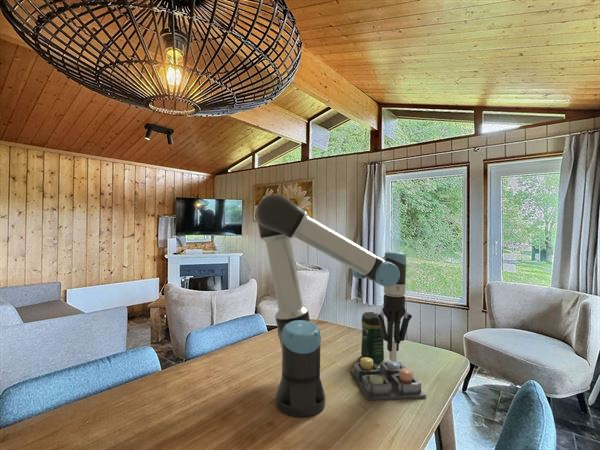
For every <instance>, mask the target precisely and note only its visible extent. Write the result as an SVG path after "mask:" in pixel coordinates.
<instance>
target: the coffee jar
mask: <svg viewBox="0 0 600 450" xmlns="http://www.w3.org/2000/svg"><path fill="white" fill-rule="evenodd" d="M384 318H385V317H384ZM384 318H383V319H384ZM384 320H385V319H384ZM361 326H362V327H361V328H362V329H361V333H362V334H361V348H360V349H361V358H363V357H368V358H371V359H373V363H375V364H378V363H379V364H380V362H384V361H385V353H384V352H385V351H384V350H385V349H384V348H385V347H384V344H385V343H384V341H385V340H384V339H383V338H382V334H381V329H380V324H379V319H378V318H377V316H376V313H375V312H373V311H369V312H367V311H366V312H364V313H362V315H361Z"/></svg>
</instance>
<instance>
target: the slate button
mask: <svg viewBox="0 0 600 450" xmlns="http://www.w3.org/2000/svg"><path fill="white" fill-rule="evenodd" d="M397 362H398V361H396V362H394V361H391V360H390V362H388V363H387V367H388V368H389V369H400V364H399V363H397Z"/></svg>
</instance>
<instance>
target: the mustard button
mask: <svg viewBox="0 0 600 450" xmlns="http://www.w3.org/2000/svg"><path fill="white" fill-rule="evenodd" d="M360 362H361V369H362V370H373V359H371V358H368V357H361V358H360Z"/></svg>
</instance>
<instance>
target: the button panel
mask: <svg viewBox="0 0 600 450" xmlns="http://www.w3.org/2000/svg"><path fill="white" fill-rule="evenodd" d="M390 361H391V360H390ZM390 361H382V362H380V363H379V367H378V366H377V365H376V363H373V370H362V369H361V361H360V362H355V363H353V368H350V373H351V374H352V376H353V378H354V379H355V381H356V383H357V384H358V386H359V388H360V390H361V392H362V393H363V395H364V397H365V398H366V400H367V401H387V400H388V401H389V400H393V401H394V400H407V399H408V400H409V399H410V400H411V399H412V400H414V399H426V398H427V395H426V393H425V392H424V391H423V390H422V382H421V381H420V380H418V378H417V377H416V376H414V374H413V382H412V383H402V382H400V381H399V369H389V368H388V367H387V363H388V362H390ZM394 362H397V363H399V364H400V369H402V368H404V369H408V368H406V366H405V365H404V364H403V363H402V362H400V361H397V360H396V361H394ZM371 375H379V376H381V377H383V384H371V383H370V376H371Z"/></svg>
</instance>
